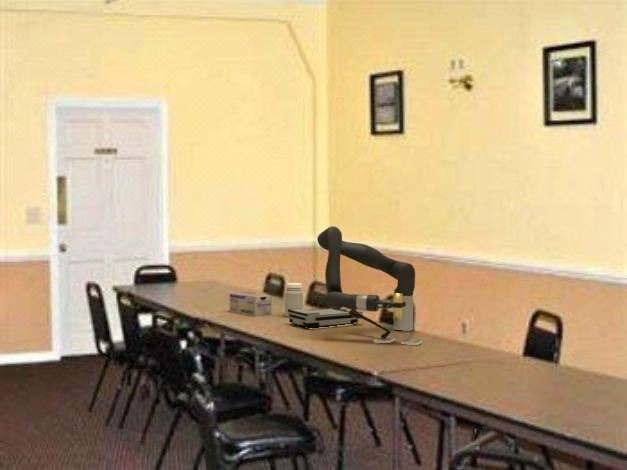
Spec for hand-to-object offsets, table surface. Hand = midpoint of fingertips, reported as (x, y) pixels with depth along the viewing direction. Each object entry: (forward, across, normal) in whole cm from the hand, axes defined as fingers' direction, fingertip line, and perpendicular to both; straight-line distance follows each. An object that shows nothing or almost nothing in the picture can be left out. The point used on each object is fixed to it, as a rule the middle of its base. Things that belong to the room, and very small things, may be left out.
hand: (403, 304), depth 436 cm
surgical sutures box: (-109, +64, +19) cm, 128 cm away
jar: (-81, +61, +18) cm, 103 cm away
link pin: (-3, 0, +7) cm, 8 cm away
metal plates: (-3, 0, +18) cm, 18 cm away
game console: (-54, +40, +18) cm, 70 cm away
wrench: (-21, +13, +13) cm, 28 cm away
